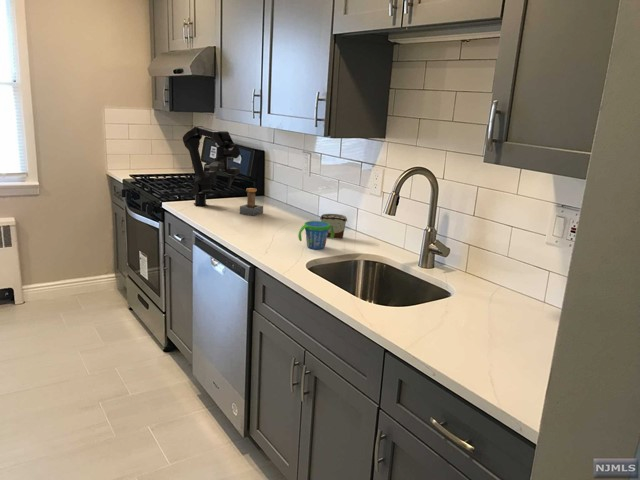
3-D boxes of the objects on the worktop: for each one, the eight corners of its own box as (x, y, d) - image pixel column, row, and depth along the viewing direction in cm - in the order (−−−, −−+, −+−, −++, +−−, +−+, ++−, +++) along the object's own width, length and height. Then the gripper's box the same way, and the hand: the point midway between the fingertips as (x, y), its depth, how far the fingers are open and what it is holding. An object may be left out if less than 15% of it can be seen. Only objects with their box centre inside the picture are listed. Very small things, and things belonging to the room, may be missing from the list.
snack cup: (301, 251, 203) (303, 227, 200) (294, 244, 212) (295, 221, 210) (337, 250, 208) (339, 226, 205) (328, 243, 218) (330, 220, 215)
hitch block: (239, 213, 262) (239, 206, 261) (248, 211, 270) (248, 203, 269) (254, 216, 259) (254, 208, 258) (262, 213, 267) (263, 205, 266)
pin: (243, 213, 264) (244, 188, 260) (250, 211, 268) (251, 187, 265) (250, 215, 261) (251, 190, 257) (258, 213, 265) (258, 189, 262)
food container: (346, 236, 232) (348, 214, 229) (346, 239, 226) (347, 217, 223) (320, 233, 233) (321, 212, 230) (318, 237, 227) (320, 215, 224)
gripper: (197, 155, 256) (197, 185, 260) (228, 159, 249) (228, 190, 253) (210, 153, 266) (210, 183, 270) (240, 157, 259) (240, 187, 263)
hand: (221, 186), depth 263 cm, fingers open, 9 cm apart
